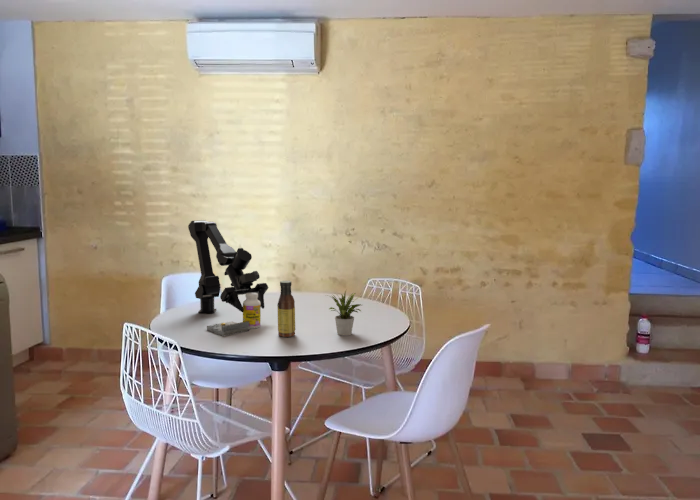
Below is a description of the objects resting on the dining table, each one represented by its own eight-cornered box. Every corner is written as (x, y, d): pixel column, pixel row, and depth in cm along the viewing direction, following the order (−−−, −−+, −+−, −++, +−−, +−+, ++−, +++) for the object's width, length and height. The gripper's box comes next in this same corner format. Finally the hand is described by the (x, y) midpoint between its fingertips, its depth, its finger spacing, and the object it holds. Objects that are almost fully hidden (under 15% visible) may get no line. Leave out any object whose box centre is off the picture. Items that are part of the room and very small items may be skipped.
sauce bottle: (286, 332, 200) (287, 279, 198) (298, 335, 196) (299, 281, 194) (273, 335, 195) (273, 281, 193) (285, 338, 191) (286, 283, 189)
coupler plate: (207, 330, 201) (206, 320, 200) (232, 325, 208) (232, 316, 208) (223, 336, 193) (223, 326, 193) (249, 330, 201) (249, 321, 200)
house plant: (327, 340, 190) (327, 294, 188) (318, 330, 203) (318, 287, 201) (365, 338, 194) (366, 293, 192) (354, 328, 207) (355, 286, 205)
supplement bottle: (243, 329, 203) (243, 295, 201) (242, 325, 209) (242, 292, 207) (261, 328, 204) (261, 295, 203) (259, 324, 211) (259, 291, 209)
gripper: (223, 266, 201) (240, 300, 194) (265, 262, 213) (282, 294, 207) (213, 284, 207) (228, 318, 200) (254, 279, 220) (270, 311, 213)
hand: (253, 309), depth 205 cm, fingers open, 9 cm apart
